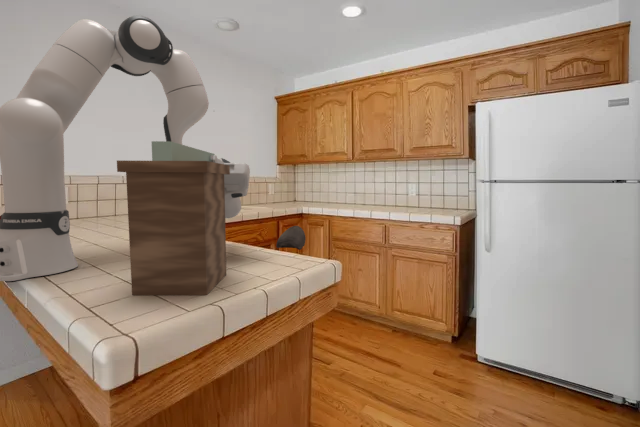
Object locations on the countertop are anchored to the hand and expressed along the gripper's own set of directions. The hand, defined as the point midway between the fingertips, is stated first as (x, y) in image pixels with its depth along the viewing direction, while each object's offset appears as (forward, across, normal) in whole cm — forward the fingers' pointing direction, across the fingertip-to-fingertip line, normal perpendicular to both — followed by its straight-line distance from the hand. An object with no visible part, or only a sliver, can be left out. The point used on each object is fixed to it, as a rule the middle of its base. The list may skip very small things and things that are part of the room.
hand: (202, 157), depth 81 cm
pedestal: (-2, 0, +30) cm, 30 cm away
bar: (+6, 0, +6) cm, 9 cm away
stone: (-36, +20, +11) cm, 43 cm away
